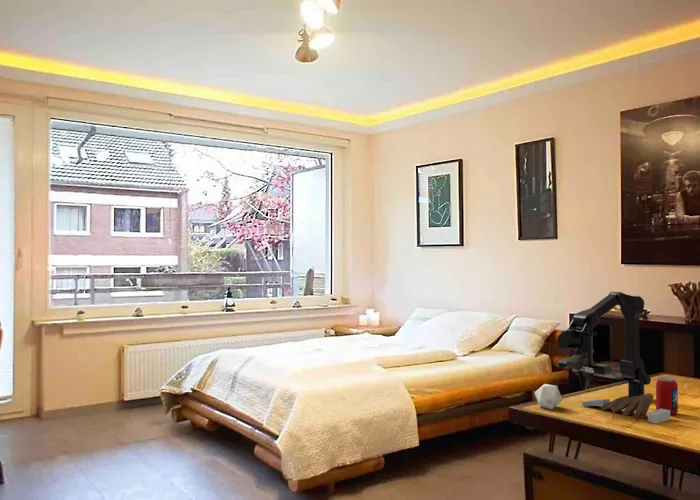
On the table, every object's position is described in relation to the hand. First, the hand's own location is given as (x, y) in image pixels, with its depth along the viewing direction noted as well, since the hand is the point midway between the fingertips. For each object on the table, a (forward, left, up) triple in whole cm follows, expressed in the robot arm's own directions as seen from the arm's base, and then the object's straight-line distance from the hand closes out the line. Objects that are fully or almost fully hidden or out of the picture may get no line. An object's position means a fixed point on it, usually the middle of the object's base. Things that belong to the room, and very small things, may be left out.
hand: (584, 389), depth 225 cm
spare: (0, +1, -5) cm, 5 cm away
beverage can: (-12, +24, -6) cm, 28 cm away
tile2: (0, +12, -5) cm, 13 cm away
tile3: (0, +17, -5) cm, 17 cm away
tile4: (0, +21, -5) cm, 21 cm away
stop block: (0, +27, -6) cm, 28 cm away
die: (+14, -6, -6) cm, 16 cm away
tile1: (0, +8, -5) cm, 10 cm away
